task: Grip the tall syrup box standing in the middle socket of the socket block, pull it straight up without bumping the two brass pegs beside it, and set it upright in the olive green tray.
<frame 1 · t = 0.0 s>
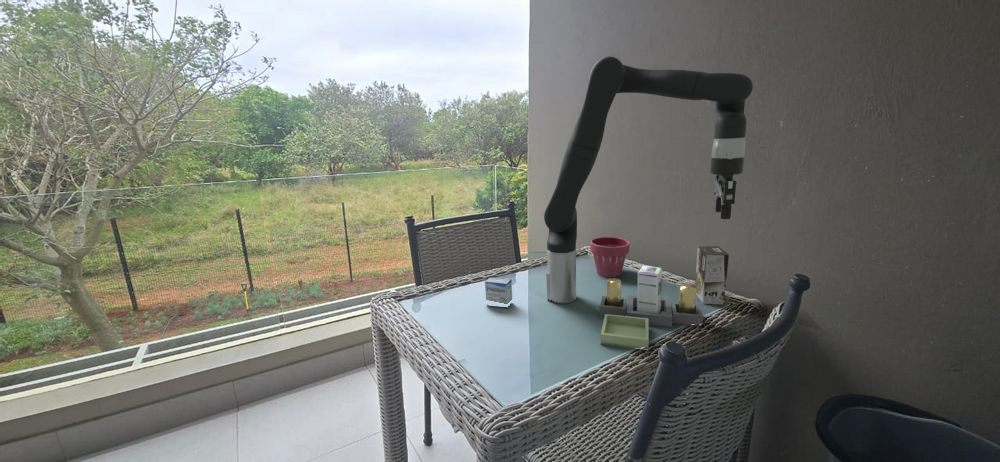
hand: (722, 215, 105), 29 cm above the table, tool pointing down, fingers open, 8 cm apart
plant pot: (609, 273, 147), on the table
left brass peg: (613, 311, 116), resting in socket block
right brass peg: (685, 318, 109), resting in socket block
coffee box: (708, 298, 121), on the table
tray: (625, 336, 102), on the table
socket block: (648, 314, 113), on the table
medicine box: (499, 305, 126), on the table
syrup box: (648, 315, 113), resting in socket block
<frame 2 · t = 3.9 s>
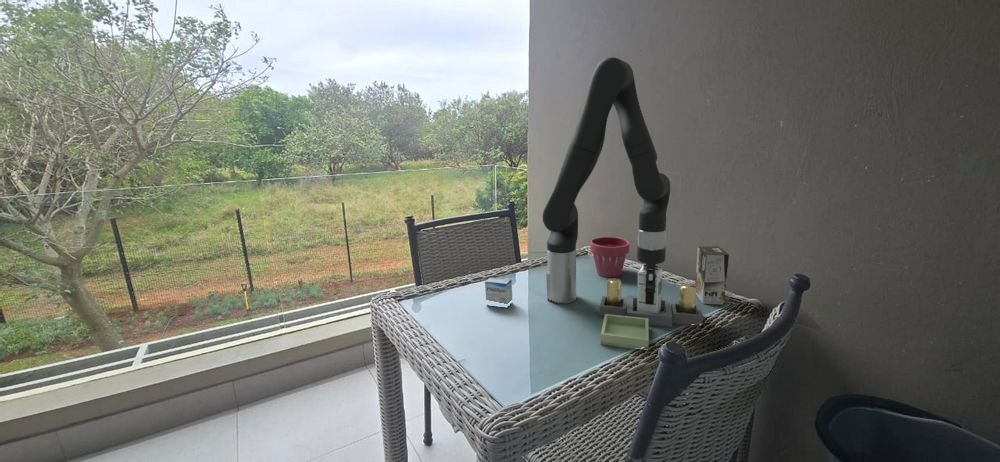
hand: (649, 298, 112), 5 cm above the table, tool pointing down, fingers closed on syrup box, 6 cm apart
syrup box: (648, 315, 113), resting in socket block, touching gripper
everything else where it was.
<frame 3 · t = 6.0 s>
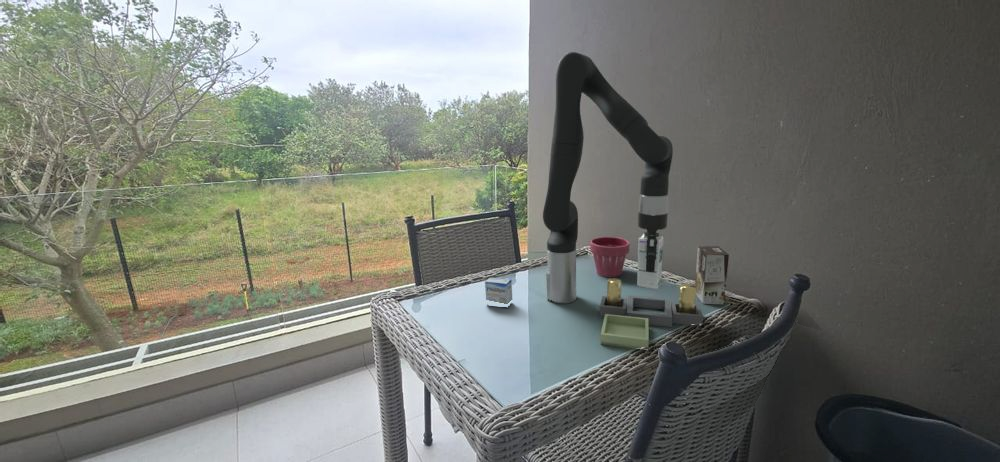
hand: (649, 267, 109), 15 cm above the table, tool pointing down, fingers closed on syrup box, 6 cm apart
syrup box: (648, 284, 111), point 10 cm above the table, touching gripper
everything else where it was.
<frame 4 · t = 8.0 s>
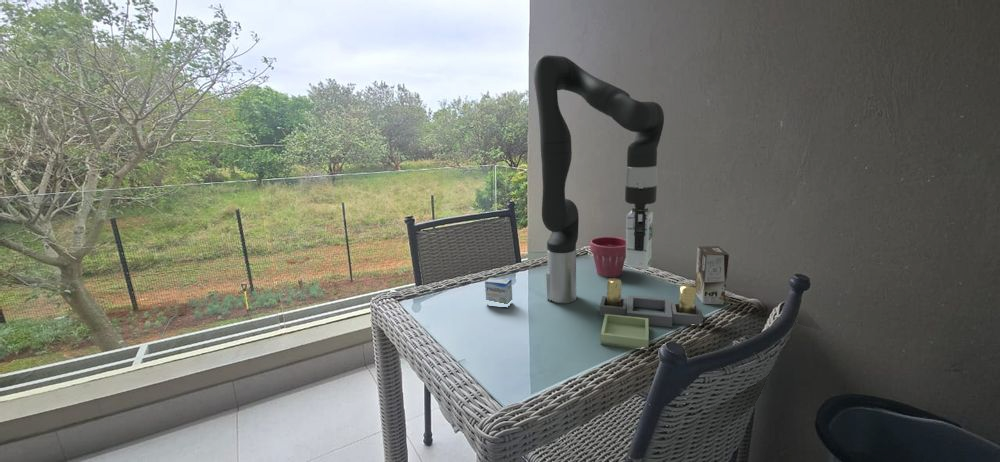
hand: (638, 246, 101), 24 cm above the table, tool pointing down, fingers closed on syrup box, 6 cm apart
syrup box: (638, 265, 103), point 18 cm above the table, touching gripper
everything else where it was.
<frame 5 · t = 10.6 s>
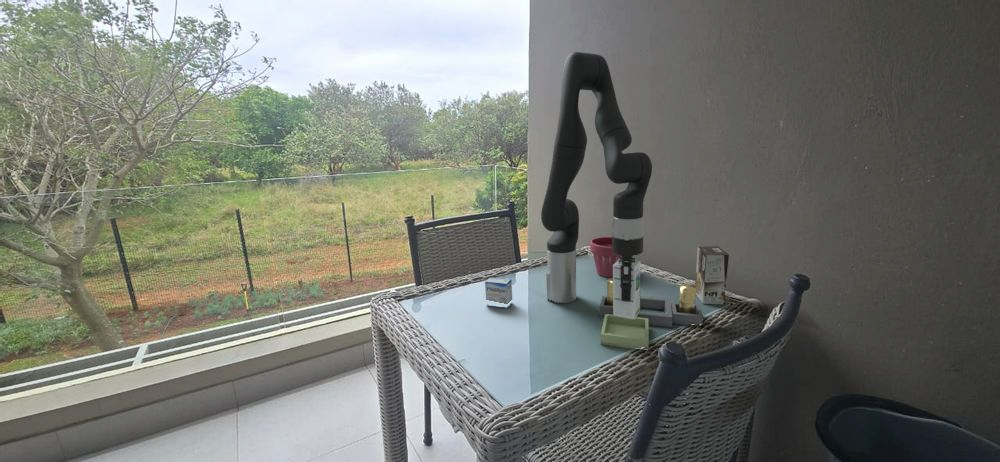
hand: (626, 295, 99), 12 cm above the table, tool pointing down, fingers closed on syrup box, 6 cm apart
syrup box: (626, 314, 101), point 7 cm above the table, touching gripper
everything else where it was.
when the fingers open (7 cm above the table, at t = 12.5 s): syrup box drops 1 cm, resting on tray.
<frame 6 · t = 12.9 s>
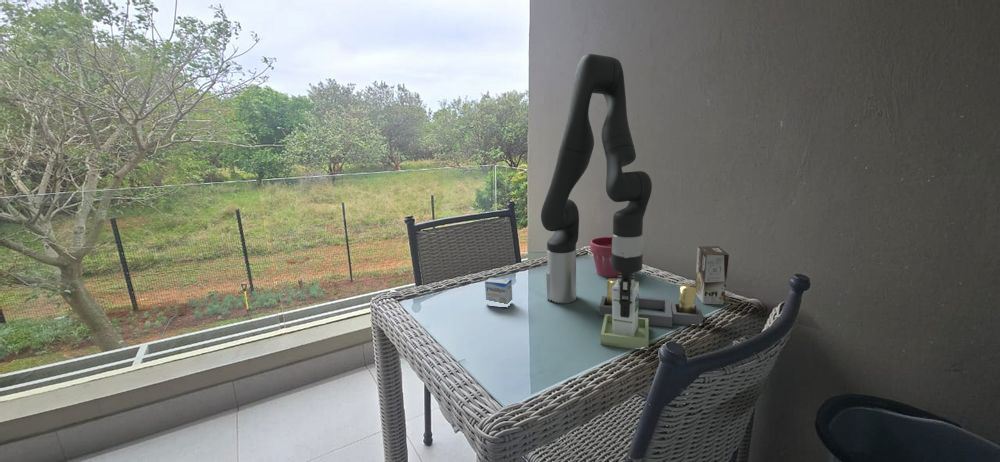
hand: (625, 309, 100), 8 cm above the table, tool pointing down, fingers open, 8 cm apart
syrup box: (624, 334, 102), point 1 cm above the table, touching tray
everything else where it was.
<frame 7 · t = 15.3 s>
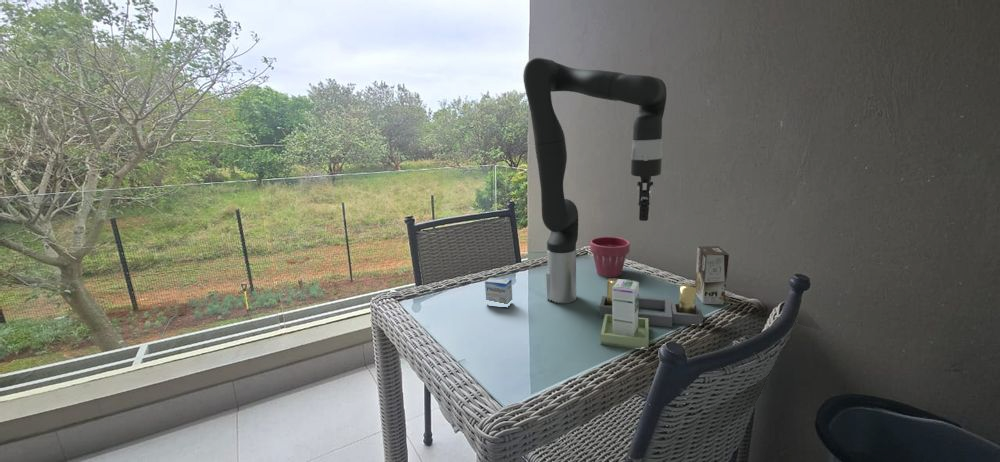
hand: (644, 216, 105), 30 cm above the table, tool pointing down, fingers open, 8 cm apart
nothing on the table moved.
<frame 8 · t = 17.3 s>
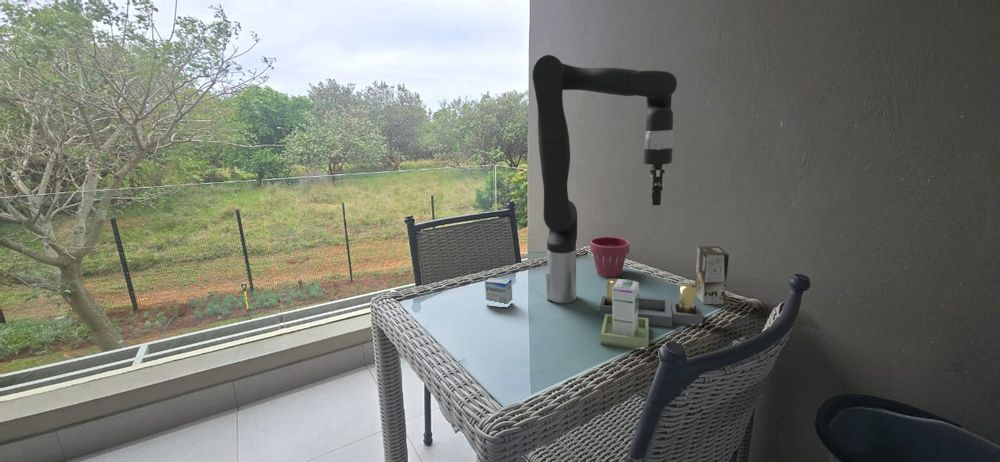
hand: (656, 202, 113), 32 cm above the table, tool pointing down, fingers open, 8 cm apart
nothing on the table moved.
at the end: syrup box inside the target area on the tray (0.1 cm from its centre), point 0.6 cm above the tray's base; left brass peg moved 0.0 cm from its start; right brass peg moved 0.0 cm from its start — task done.
